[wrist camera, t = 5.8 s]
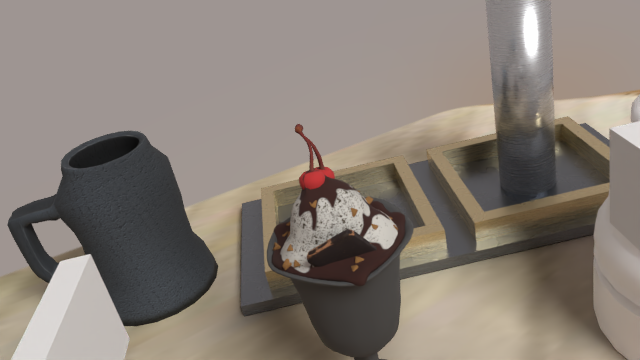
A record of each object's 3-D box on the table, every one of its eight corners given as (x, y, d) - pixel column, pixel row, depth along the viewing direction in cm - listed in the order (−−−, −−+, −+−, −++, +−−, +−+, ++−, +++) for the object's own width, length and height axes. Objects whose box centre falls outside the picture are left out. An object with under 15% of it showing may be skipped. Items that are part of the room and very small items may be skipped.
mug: (214, 236, 50) (171, 109, 45) (222, 302, 42) (170, 156, 37) (67, 278, 49) (6, 153, 44) (46, 355, 41) (-32, 212, 36)
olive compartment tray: (244, 316, 40) (173, 106, 33) (244, 211, 53) (193, 43, 46) (691, 211, 40) (710, -19, 33) (585, 131, 53) (584, -48, 46)
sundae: (350, 338, 36) (293, 102, 29) (458, 368, 33) (422, 107, 26) (287, 423, 32) (203, 168, 25) (404, 470, 28) (344, 184, 21)
